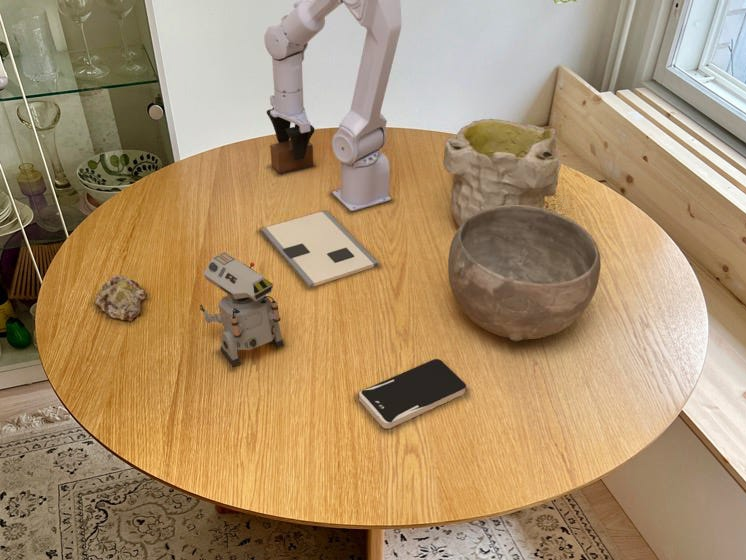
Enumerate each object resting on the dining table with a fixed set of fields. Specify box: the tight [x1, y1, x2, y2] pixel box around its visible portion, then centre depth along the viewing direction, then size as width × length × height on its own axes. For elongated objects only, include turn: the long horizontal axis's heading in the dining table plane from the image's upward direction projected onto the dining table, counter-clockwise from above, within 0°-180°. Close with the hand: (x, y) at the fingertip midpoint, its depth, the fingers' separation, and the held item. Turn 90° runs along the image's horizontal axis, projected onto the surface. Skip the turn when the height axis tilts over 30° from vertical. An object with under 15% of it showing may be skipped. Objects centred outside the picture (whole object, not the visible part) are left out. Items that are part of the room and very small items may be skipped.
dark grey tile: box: [283, 243, 310, 258], centre depth 137 cm, size 4×3×1 cm
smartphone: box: [358, 358, 467, 430], centre depth 112 cm, size 8×1×15 cm
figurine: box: [199, 251, 284, 367], centre depth 115 cm, size 9×12×15 cm
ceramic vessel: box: [442, 118, 562, 228], centre depth 141 cm, size 23×24×25 cm
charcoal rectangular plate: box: [327, 248, 354, 263], centre depth 137 cm, size 4×3×1 cm
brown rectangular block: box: [269, 139, 314, 176], centre depth 160 cm, size 8×4×5 cm, turn 121°
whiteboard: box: [260, 209, 379, 289], centre depth 139 cm, size 14×20×1 cm
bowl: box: [447, 205, 602, 342], centre depth 122 cm, size 24×24×15 cm
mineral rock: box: [94, 274, 147, 322], centre depth 125 cm, size 11×4×8 cm
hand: (291, 150), depth 159 cm, fingers open, 7 cm apart
